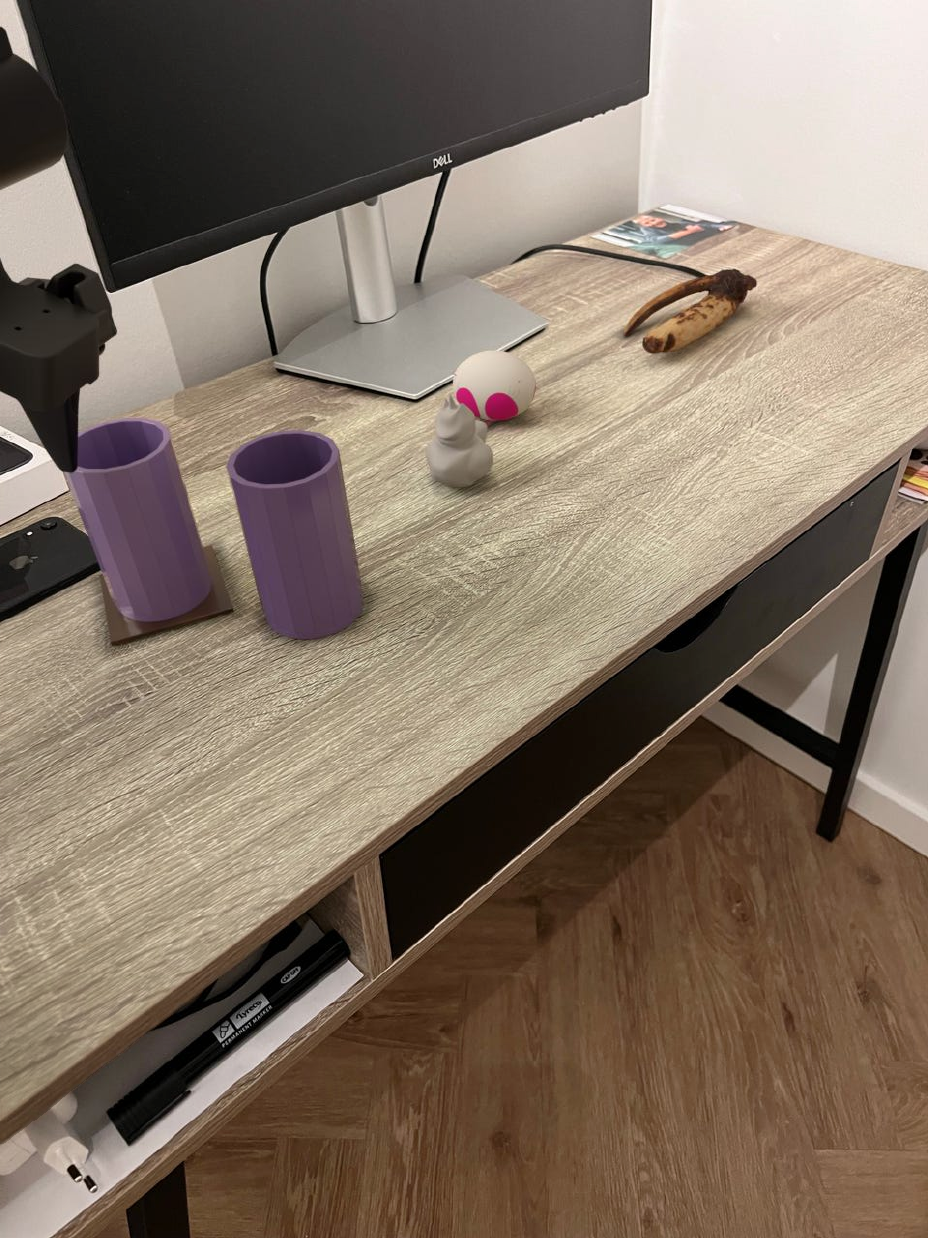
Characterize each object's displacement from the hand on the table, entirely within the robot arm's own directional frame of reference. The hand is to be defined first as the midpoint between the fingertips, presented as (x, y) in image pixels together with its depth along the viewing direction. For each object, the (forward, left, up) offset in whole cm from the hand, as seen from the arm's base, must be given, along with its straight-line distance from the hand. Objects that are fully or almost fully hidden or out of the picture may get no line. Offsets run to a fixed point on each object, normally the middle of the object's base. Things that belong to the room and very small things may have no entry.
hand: (17, 512), depth 56 cm
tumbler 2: (+15, +1, -13) cm, 20 cm away
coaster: (+6, +7, -13) cm, 16 cm away
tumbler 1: (+6, +7, -13) cm, 15 cm away
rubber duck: (+31, +12, -13) cm, 36 cm away
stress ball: (+37, +20, -13) cm, 44 cm away
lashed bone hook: (+61, +28, -13) cm, 68 cm away
